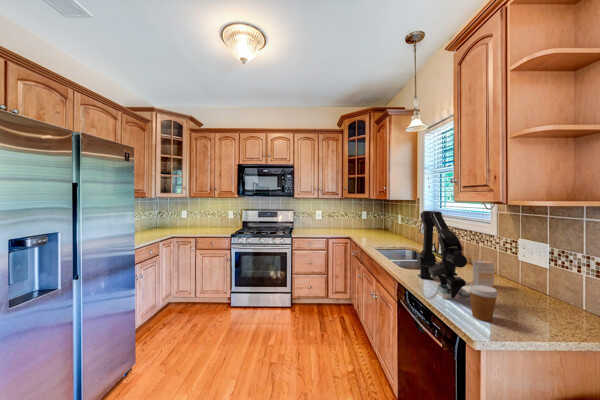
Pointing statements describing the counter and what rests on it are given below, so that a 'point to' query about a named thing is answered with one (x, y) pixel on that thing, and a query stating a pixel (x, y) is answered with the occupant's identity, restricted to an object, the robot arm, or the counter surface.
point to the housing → (446, 292)
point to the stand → (465, 291)
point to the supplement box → (483, 273)
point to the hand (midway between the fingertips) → (447, 293)
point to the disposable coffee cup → (482, 301)
